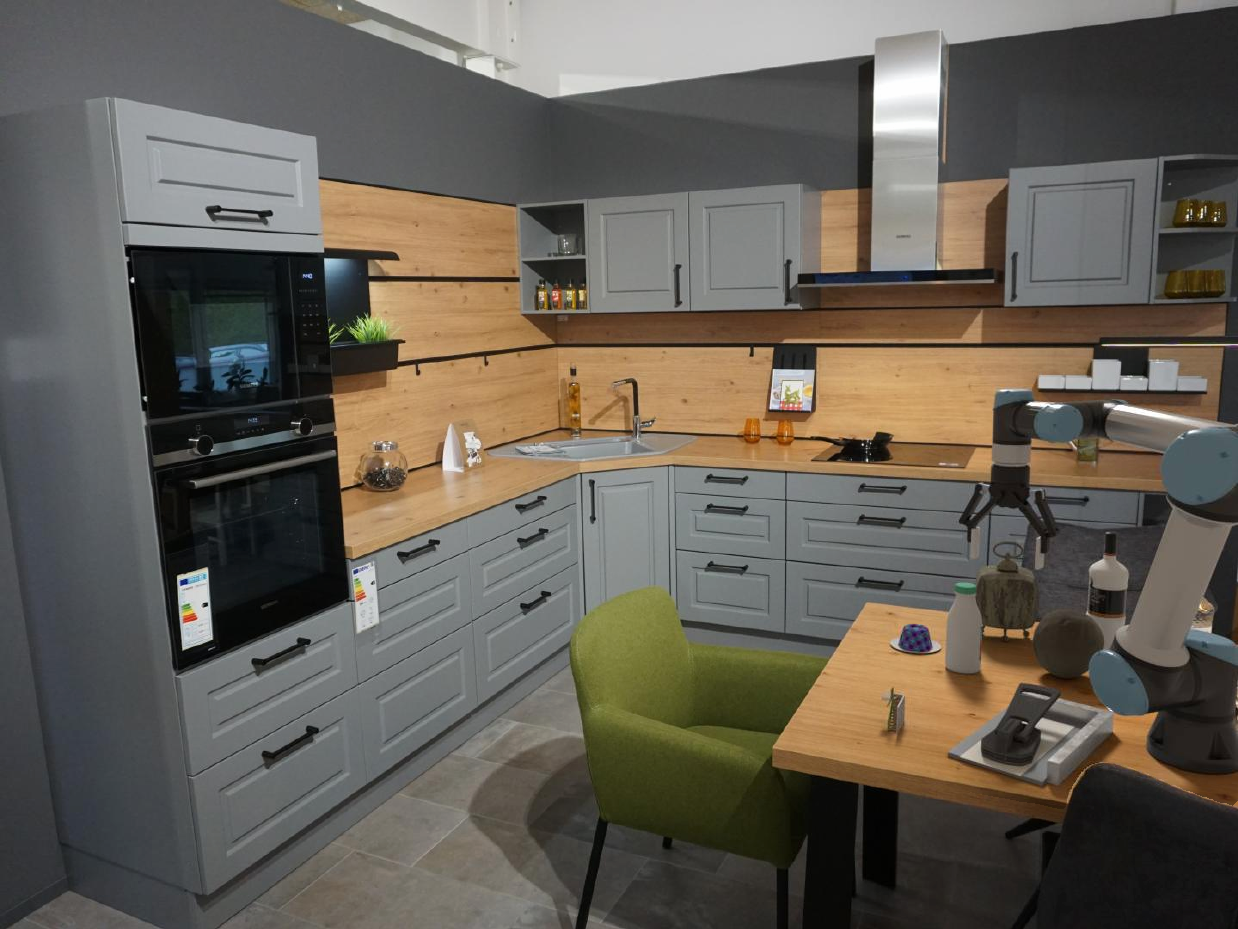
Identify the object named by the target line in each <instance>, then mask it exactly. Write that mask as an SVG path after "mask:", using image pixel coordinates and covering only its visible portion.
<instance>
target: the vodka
mask: <svg viewBox="0 0 1238 929" xmlns="http://www.w3.org/2000/svg"><path fill="white" fill-rule="evenodd" d="M1117 544H1118V533H1117V532H1115V531H1106V532H1105V533H1104V545H1103V547H1104V548H1103V556H1102V557H1103V558H1102V559H1100V560H1098V561H1097V562H1094V563H1093V564H1091V566H1090V567H1089V569H1088V573H1089V578H1088V594H1087V609H1086V613H1085V614H1087V615H1089V616H1090V617H1091V618H1092V619H1093V620H1094V621H1095V622H1096V623H1097V624H1098V625H1099V627H1100V628H1101V630H1102V633H1103V636H1104V648H1103V650H1104V649H1110V647H1111V645H1112V642H1113V640H1114V637H1115V635H1116V632H1117V630H1118V629H1119V628H1120V627H1122V626H1125V625H1126V619H1127V616H1126V607H1127V606H1126V605H1127V604H1126V603H1127V592H1128V591H1127V589H1128V587H1129V584H1128V583H1129V582H1128V581H1129V576H1130V573H1129V570H1128V569H1127V567H1126V566H1125V565H1123V564H1122V563H1120V562H1119V561H1118V560H1117Z"/></svg>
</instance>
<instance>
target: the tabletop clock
mask: <svg viewBox="0 0 1238 929" xmlns="http://www.w3.org/2000/svg"><path fill="white" fill-rule="evenodd" d="M1002 545H1012V546H1016V547H1018V548H1019V549H1020V553H1018V554H1016V555H1015V554H1014V555H1011V553H1010V552H1009V551H1008V552H1006V553H1005V555H1004V554H1000V553H997V552H996V548H997V547H999V546H1002ZM992 552H993V554H994V555H996V556H997V557H999V558H1001V559H1000V560H999V561H997V563H996V565H985V566H982V567H979V569H978V571H977V573H976V577H975V580H974V581H975V582H974V584H975V585H976V587H977V591H976V596H975V600H976V604H977V607H978V609H979V611H980V614H981V618H982V634H983V633H985V628H986V627H988V628H992V629H993V628H994V629H999V630H1001V629H1002V630H1003V635H1002V636H1001V641H1002V642H1004V643H1006V642H1008V641H1009V636H1007V634H1008V633H1007V631H1008V630H1013V631H1014V630H1015V631H1016V630H1018V631H1019V630H1021V631H1023V632H1022V636H1023V637H1025V638H1028V637H1029V636H1030V632H1029V631H1028V629H1033V628H1034V626H1035V624H1036V621H1037V618H1038V613H1039V612H1038V611H1039V604H1040V602H1039V601H1040V600H1039V598H1040V597H1039V587H1038V583H1037V580H1036V578H1035V576H1034V574H1033V571H1032V570H1030V569H1029V568H1025V567H1022V566H1021V567H1020V566H1019V565H1018V564H1017V562H1016V561H1015V560H1013V559H1017V558H1020V557H1021V556H1022V555H1023V554H1024V548H1023V547H1022V545H1020V543H1017V542H1013V541H1005V540H1004V541H1000V542H997V543H996V544H995V545H994V546H993V548H992Z"/></svg>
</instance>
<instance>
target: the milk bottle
mask: <svg viewBox="0 0 1238 929" xmlns="http://www.w3.org/2000/svg"><path fill="white" fill-rule="evenodd" d="M954 590H955V591H954V594H955V599H954V601H953V604H952V605H951V606H950V609H949V612H948V613H947V620H946V631H945V632H946V633H945V634H946V635H945V659H944V660H945V662H944V664H945V667H946V669H948V671H951V672H954V673H957V674H965V675H966V674H976V673H979V671H980V670H981V669H982V668H981V667H982V666H981V664H982V648H983V647H982V646H983V644H982V641H983V633H982V626H983V625H982V618H981V614H980V611H979V609H978V607H977V604H976V600H975V596H976V591H977V587H976V585H975V583H971V582H957V583H955V586H954Z"/></svg>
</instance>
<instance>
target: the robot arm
mask: <svg viewBox="0 0 1238 929" xmlns="http://www.w3.org/2000/svg"><path fill="white" fill-rule="evenodd" d="M1034 395H1035V394H1034V391H1033V390H1031V389H1027V388H1002V389H999V390H997V391H996V392H995V394H994V400H993V401H994V402H993V408H992V412H993V413H992V414H993V415H992V438H991V439H992V443H991V444H992V445H991V446H992V447H991V461H992V462H993V463H992V464H991V465H990V466H991V467H990V484H986V483H985V482H978V483H976V484H975V486H974V493H973V494H972V495H971V498H970V499H969V502H968V503H967V505H966V507H965V509H964V511H963V512H962V513H961V516H960V518H959V519H958V523H959V524H960V525H964V527H967V529H966V530H967V531H966V534H967V536H966V541H967V543H970V554H969V555H970V558H969V559H972V560H975V559H977V558H979V557H980V546H981V545H980V544H981V543H980V542H981V527H979V526H978V525H979V524H980V523H981V521H982V520H984V519H985V518H986V516H988V514H990V512H992V511H993V509H994V508H996V507H997V506H998V507H999V508H1002V509H1003V508H1008V509H1012V510H1015V509H1018V510H1019V511H1020V513H1022V515H1024V517H1025V518H1026V520H1027V521H1028V522H1029V523H1030V524H1031V526H1032V527H1033V529H1034V530H1035V532H1036V533H1037V534H1038V535H1039V536H1038V537H1036V539H1035V540H1036V542H1035V556H1034V557H1035V559H1034V560H1035V561H1034V570H1037V571H1038V570H1039V571H1040V570H1041V569H1043V568H1044V566H1045V555H1046V554H1049V552H1050V545H1051V544H1050V542H1051V541H1050V540H1051V538H1054V537H1056V536H1059V535H1060V534H1061V530H1060V528H1059V526H1058V523H1057V522H1056V520H1055V517H1054V515H1053V513H1052V510H1051V508H1050V506H1049V503H1048V501H1047V498H1046V497H1047V496H1046V490H1045V489H1044V488H1040V489H1031V488H1030V481H1031V480H1030V478H1031V466H1030V465H1029V464H1030V463H1031V457H1032V456H1031V454H1032V440H1038V441H1044V442H1048V443H1051V444H1057V443H1060V444H1069V443H1070V442H1072V441H1073V440H1084V439H1102V440H1106V441H1110V442H1115V443H1119V444H1124V445H1128V446H1131V447H1135V448H1140V449H1145V450H1148V451H1153V452H1157V453H1160V454H1163V456H1162V459H1161V462H1160V469H1159V470H1160V472H1159V473H1160V475H1161V476H1163V479H1162V481H1161V482H1162V485H1163V487H1164V489H1165V490H1166V492H1167V493H1166V496H1165V497H1166V498H1165V499H1166V501H1167V503H1168V504H1169V506H1170V507H1171V509H1172V510H1171V512H1170V515H1169V517H1168V520H1167V523H1166V525H1165V529H1164V530H1163V531H1164V532H1163V534H1162V537H1161V540H1160V541H1159V545H1158V547H1157V550H1156V553H1155V556H1154V557H1153V561H1152V564H1151V565H1150V569H1149V572H1148V574H1147V577H1146V580H1145V583H1144V585H1143V588H1142V591H1141V594H1140V596H1139V599H1138V601H1137V604H1136V606H1135V609H1134V612H1133V615H1132V617H1131V620H1130V622H1129V624H1125V625H1124V626H1122V627H1120V628H1119V629H1118V630H1117V632H1116V635H1115V637H1114V640H1113V642H1112V645H1111V647H1110V649H1104V650H1100V651H1099V652H1097V653H1095V654H1094V655H1093V656H1092V658H1091V660H1090V663H1089V670H1088V675H1089V681H1090V682H1089V683H1090V684H1091V686H1092V689H1093V692H1094V694H1095V695H1096V697H1097V698H1098V700H1099V702H1101V704H1102V705H1103V706H1105V708H1106V709H1108V711H1111V712H1114V714H1117V715H1118V716H1123V717H1131V716H1139V717H1141V716H1145V715H1148V714H1154V713H1156V716H1155V718H1154V719H1153V721H1152V724H1151V726H1150V728H1149V730H1148V732H1147V735H1146V746H1145V747H1146V750H1147V751H1148V753H1149V754H1150V755H1152V757H1153V758H1155V759H1157V760H1159V761H1161V762H1162V763H1165V764H1167V765H1169V766H1172V767H1175V768H1178V769H1181V770H1186V771H1189V772H1195V773H1200V774H1208V775H1210V774H1211V775H1224V774H1226V775H1227V774H1232V773H1235V772H1237V771H1238V730H1237V727H1236V724H1235V717H1236V706H1237V695H1238V645H1237V644H1236V643H1235V641H1233V640H1231V639H1229V638H1227V637H1225V636H1221V635H1219V634H1215V633H1212V632H1208V631H1204V630H1200V629H1199V630H1198V629H1193V628H1192V626H1193V623H1194V621H1195V618H1196V616H1197V613H1198V611H1199V608H1200V606H1201V604H1202V601H1203V598H1204V596H1205V593H1206V591H1207V588H1208V586H1209V585H1210V584H1209V583H1210V581H1211V579H1212V576H1213V574H1214V572H1215V568H1216V566H1217V565H1218V561H1219V559H1220V556H1221V554H1222V552H1223V549H1224V547H1225V544H1226V542H1227V539H1228V537H1229V535H1230V532H1231V530H1232V527H1235V526H1238V423H1236V424H1231V423H1226V422H1222V421H1215V420H1210V419H1204V418H1199V417H1195V416H1189V415H1183V414H1180V413H1179V414H1178V413H1175V412H1174V413H1173V412H1167V411H1163V410H1157V409H1153V408H1147V407H1146V408H1145V407H1142V406H1136V405H1135V406H1134V405H1131V404H1130V403H1129V402H1128V401H1126V400H1123V399H1114V398H1105V399H1097V400H1096V399H1095V400H1084V401H1083V400H1081V401H1080V400H1079V401H1078V400H1077V401H1057V402H1046V401H1035V396H1034ZM987 492H988V493H989V495H990V496H991V499H989V501H987V502H986V504H985V505H984V506H983V507H982V508H981V509H980V510H979V511H978V512H977V513H976V514H975V515H974V516H973V514H974V513H975V511H976V509H977V507H978V506H979V503H980V502H981V500H982V498H983V497H984V495H985V494H987ZM1030 497H1032V500H1034V501H1035V504H1036V507H1037V509H1038V511H1039V514H1040V516H1041V518H1042V520H1041V518H1040V516H1039V515H1038V514H1037V513H1036V511H1035V510H1034V509H1033V508H1032V505H1031V504H1030V502H1029V500H1028V499H1029V498H1030ZM972 516H973V517H972ZM971 517H972V518H971Z"/></svg>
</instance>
